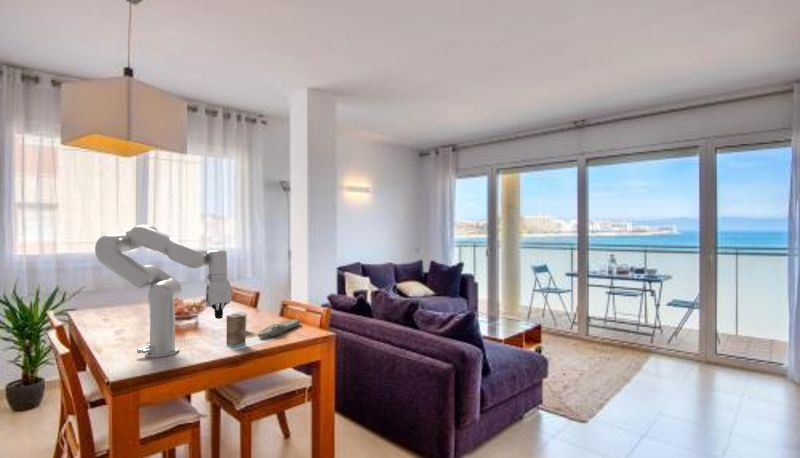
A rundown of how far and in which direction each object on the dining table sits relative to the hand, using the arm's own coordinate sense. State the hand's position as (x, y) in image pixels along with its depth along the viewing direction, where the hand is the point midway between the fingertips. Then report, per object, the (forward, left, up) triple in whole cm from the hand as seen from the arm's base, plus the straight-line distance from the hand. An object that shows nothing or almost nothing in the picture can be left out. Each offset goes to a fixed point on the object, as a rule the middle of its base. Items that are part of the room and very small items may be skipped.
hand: (218, 318), depth 184 cm
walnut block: (+9, 0, -14) cm, 17 cm away
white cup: (+23, +21, -15) cm, 34 cm away
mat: (+16, 0, -15) cm, 21 cm away
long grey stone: (+37, +6, -15) cm, 41 cm away
